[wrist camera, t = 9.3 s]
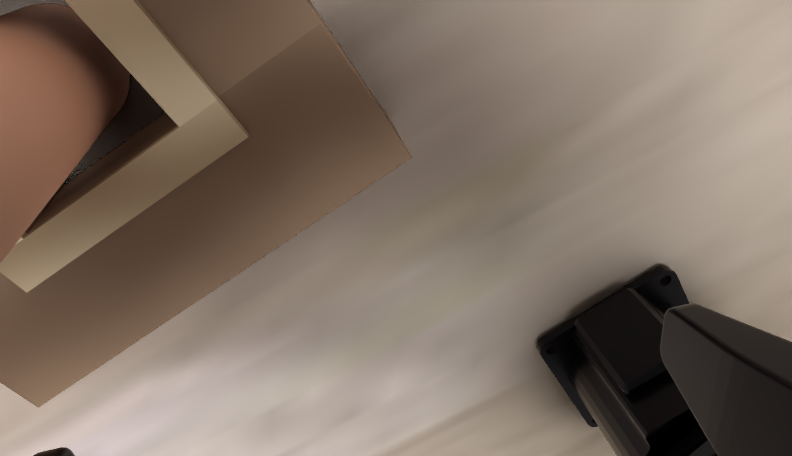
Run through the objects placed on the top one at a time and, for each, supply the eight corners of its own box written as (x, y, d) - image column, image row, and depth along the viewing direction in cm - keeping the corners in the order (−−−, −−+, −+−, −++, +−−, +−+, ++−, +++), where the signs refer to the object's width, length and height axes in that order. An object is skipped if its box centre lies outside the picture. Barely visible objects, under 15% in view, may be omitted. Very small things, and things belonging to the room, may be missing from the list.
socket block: (391, 122, 19) (413, 161, 16) (69, 342, 21) (34, 414, 18) (46, -389, 13) (-26, -486, 9) (-392, -5, 14) (-573, 18, 11)
